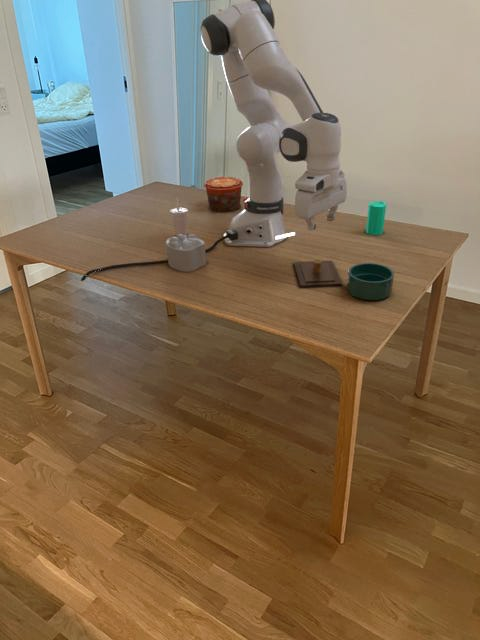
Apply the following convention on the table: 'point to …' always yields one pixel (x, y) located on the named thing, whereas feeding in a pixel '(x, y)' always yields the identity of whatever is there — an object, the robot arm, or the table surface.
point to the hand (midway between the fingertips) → (321, 225)
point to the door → (317, 274)
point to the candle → (376, 218)
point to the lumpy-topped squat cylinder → (185, 252)
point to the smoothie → (179, 219)
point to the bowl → (370, 281)
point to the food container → (224, 193)
